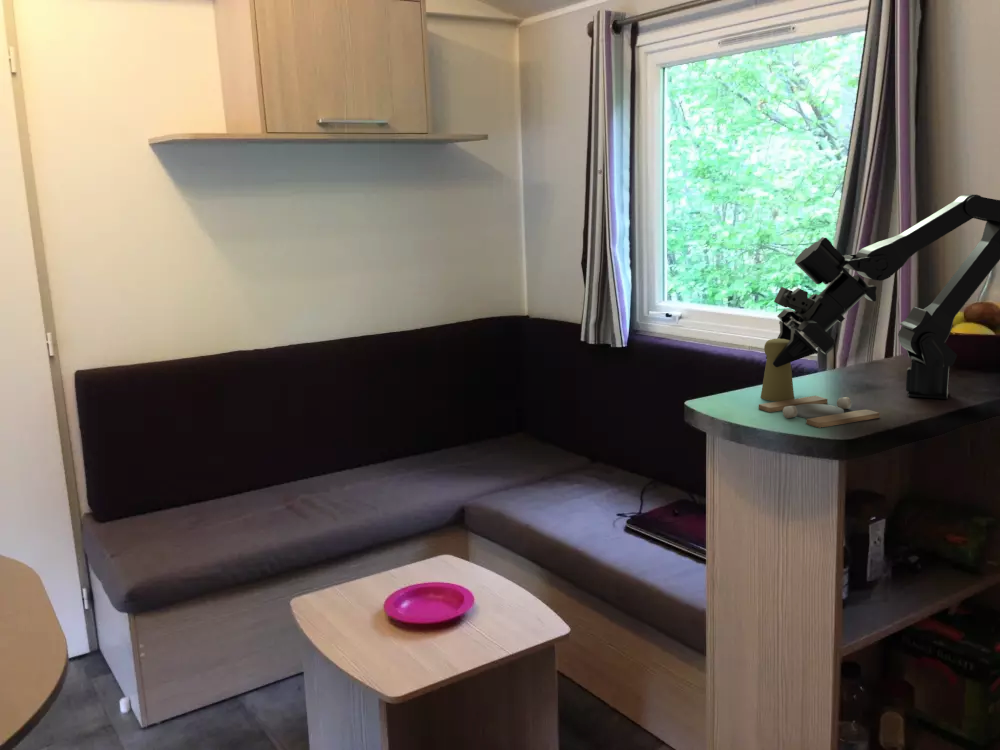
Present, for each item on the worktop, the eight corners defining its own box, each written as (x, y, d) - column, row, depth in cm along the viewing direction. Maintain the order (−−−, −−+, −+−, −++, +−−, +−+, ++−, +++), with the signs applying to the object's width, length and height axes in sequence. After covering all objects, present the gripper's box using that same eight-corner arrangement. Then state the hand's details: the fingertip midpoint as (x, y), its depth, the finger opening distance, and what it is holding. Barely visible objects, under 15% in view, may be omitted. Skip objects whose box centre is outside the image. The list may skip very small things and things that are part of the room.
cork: (770, 402, 165) (771, 342, 163) (754, 395, 171) (756, 337, 168) (800, 399, 166) (802, 340, 164) (784, 392, 172) (786, 335, 170)
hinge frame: (816, 399, 166) (816, 389, 165) (880, 417, 152) (880, 405, 152) (757, 408, 160) (757, 397, 160) (818, 428, 147) (818, 416, 147)
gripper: (790, 266, 172) (730, 325, 175) (818, 276, 154) (751, 341, 157) (830, 306, 174) (770, 364, 177) (863, 321, 155) (795, 385, 158)
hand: (770, 362), depth 167 cm, fingers closed on cork, 5 cm apart
